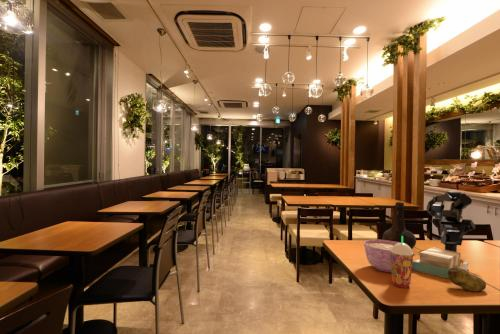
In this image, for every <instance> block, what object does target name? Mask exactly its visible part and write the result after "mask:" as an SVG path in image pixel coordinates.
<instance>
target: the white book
mask: <svg viewBox="0 0 500 334" xmlns="http://www.w3.org/2000/svg"><path fill="white" fill-rule="evenodd" d="M458 268H461V269H464V270H466V271H467V272H468V270H469V262H466V261H464V262H463V263H462V264H460V266H459V267H458ZM448 270H449V269H448V268H444V267H439V266H435V265H430V264H426V263H421V262H420V258H419V259H417V260H413V262H412V271H414V272H419V273H424V274H427V275H431V276H434V277H435V276H436V277H440V278H444V279H448V280H449V277H448V274H447V272H448Z"/></svg>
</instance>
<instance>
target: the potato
mask: <svg viewBox="0 0 500 334" xmlns="http://www.w3.org/2000/svg"><path fill="white" fill-rule="evenodd" d="M447 274H448V277H449V279H448V281H450V282H451V283H452V284H453V285H455V286H458V287H460V288H462V289H463V290H466V291H469V292H480V291H481V292H482V291H484V290H485V289H486V288H487V283H486V281H485V280H483V278H481V277H480V276H476V275H475V274H473V273H471V272H469V271H468V270H467V271H466V270H464V269H461V268H457V267H455V268H450V269H449V270H448V272H447Z"/></svg>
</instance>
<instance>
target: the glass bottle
mask: <svg viewBox="0 0 500 334" xmlns="http://www.w3.org/2000/svg"><path fill="white" fill-rule="evenodd" d="M393 207H395V208H394V209H395V210H394V216H393V217H394V218H393V222H392V225H391V227H389V229H386V230H385V231H384V232H383V234H382V237H381V238H382V239H381V240H388V241H394V242H399V243H401V236H403V243H405V244H407V245H408V246H409V247H410V248H411V249H412V250H413V249H414V248H415V246H416V244H417V238H416V235H415V234H414V233H413V232H412V231H410V230H408V229H406V225H405V210H404V209H405V207H406V206H405V202H401V201H400V202H399V201H396V202H395V204H393Z"/></svg>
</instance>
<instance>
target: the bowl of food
mask: <svg viewBox="0 0 500 334" xmlns="http://www.w3.org/2000/svg"><path fill="white" fill-rule="evenodd" d="M397 243H399V242H394V241H388V240H382V239H368V240H367V239H366V240H365V241H363V246H364V251H365V255H366V260H367V261H368V264H370V265H371V266H372V267H374V268H375V269H377V270H378V271H380V272H386V273H392V268H391V249H392V248H393V246H394V245H395V244H397Z"/></svg>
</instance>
